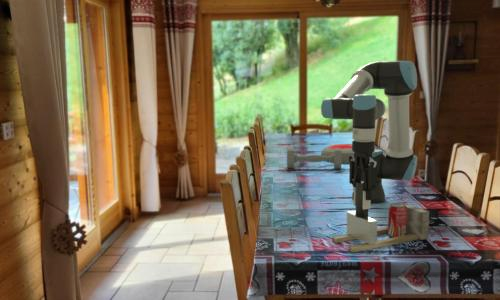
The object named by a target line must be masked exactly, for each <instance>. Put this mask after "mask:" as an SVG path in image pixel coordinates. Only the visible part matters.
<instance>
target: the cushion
mask: <svg viewBox="0 0 500 300" xmlns="http://www.w3.org/2000/svg"><path fill="white" fill-rule="evenodd" d="M335 148H340V149H341V162H343V163H342V164H350V162H349V156H354V153H355V152H353V151H352V143H339V144H331V145H328V146H326V147H323V149H322V150H321V152H320V155H321V156H331V154H334V149H335Z"/></svg>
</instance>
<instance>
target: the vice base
mask: <svg viewBox="0 0 500 300" xmlns="http://www.w3.org/2000/svg"><path fill="white" fill-rule="evenodd" d="M398 203H403V204H405V205H406V208H407V222H406V235H405V236H399V237H394V238H393V237H389V238H385V239H380V240H377V243H376V244H371V245H369V244H367V243H365V242H363V243H359V244H355V245H354V244H353V245H349V246H348V252H349V253H357V252H362V251H368V250H372V249H377V248H382V247H386V246H393V245H397V244H401V243H407V242H411V241H412V242H413V241H417V240H421V241H422V240H427V239H429V226H430V225H429V223H430V211H429V210H426V209H422V208H421V207H418V206H417V207H416V206H414V205H411V204H408V203H405V202H403V201H400V202H398ZM385 234H388V226H387V227H379V228H377V236H379V235H385ZM356 239H357V238H355V237H353V236H352V235H350V234H348V233H346V234H341V235H336V236H332V237H331V241H332V242H333V243H341V242H347V241H352V240H356ZM357 240H358V239H357Z"/></svg>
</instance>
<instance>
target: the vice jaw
mask: <svg viewBox="0 0 500 300" xmlns="http://www.w3.org/2000/svg"><path fill="white" fill-rule="evenodd" d="M364 189H365V187H364V181H357V182H356V200H355V206H354V207H355V209H354V210H348V211H346V234H350V235H352V236H353V237H355V238H357V240H359V241H361V242H363V243H367V244H369V245H371V244H376V243H377V241H378V240H377V239H378V238H377V236H378V235H377V229H378V220H377V219H375V218H371V217H370V216H369V209H363V190H364Z"/></svg>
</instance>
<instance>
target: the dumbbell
mask: <svg viewBox="0 0 500 300" xmlns="http://www.w3.org/2000/svg"><path fill="white" fill-rule="evenodd" d="M300 161H301V162H307V163H321V162H329V161H330V162H329V163H331V164H333V169H334V170H341V169H342V163H341V149H340V148H335V149H334V154H331V156H321V154H307V155H298V154H297V153H295V148H294V147H288V148H287V151H286V168H287V169H294V168H295V164H296V163H298V162H300ZM340 168H341V169H340Z"/></svg>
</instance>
